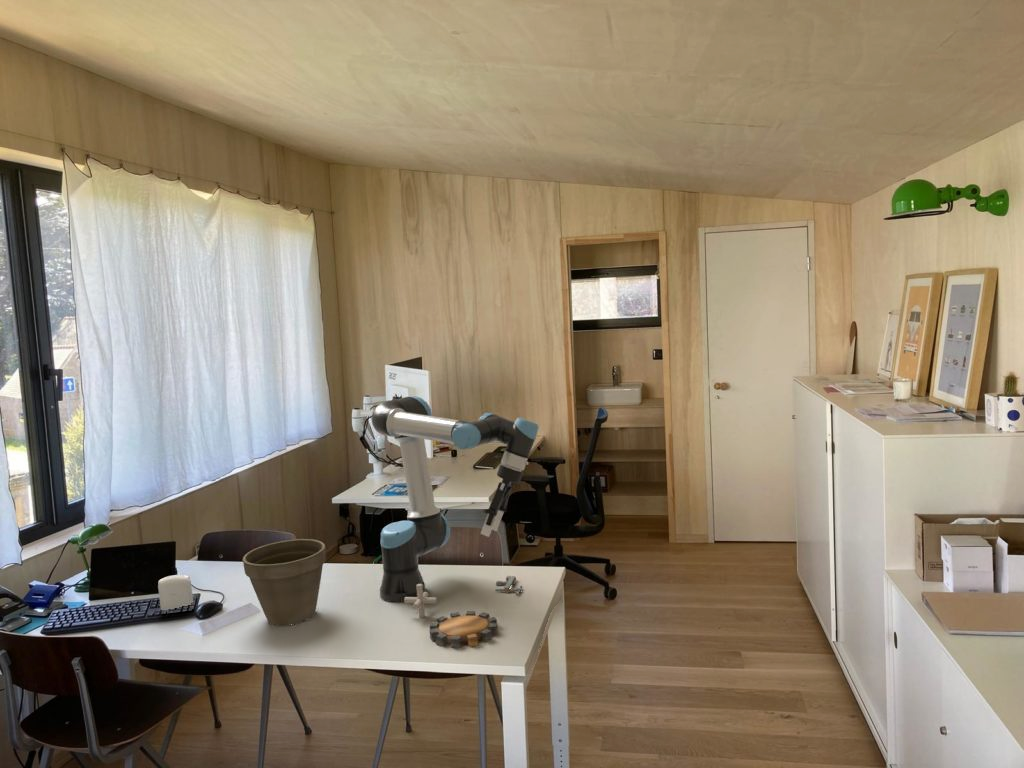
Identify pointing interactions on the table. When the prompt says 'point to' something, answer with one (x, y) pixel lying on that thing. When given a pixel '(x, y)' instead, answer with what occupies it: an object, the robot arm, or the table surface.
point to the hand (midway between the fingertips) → (488, 532)
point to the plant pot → (286, 578)
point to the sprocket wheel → (463, 629)
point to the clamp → (509, 581)
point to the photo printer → (175, 592)
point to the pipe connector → (420, 600)
